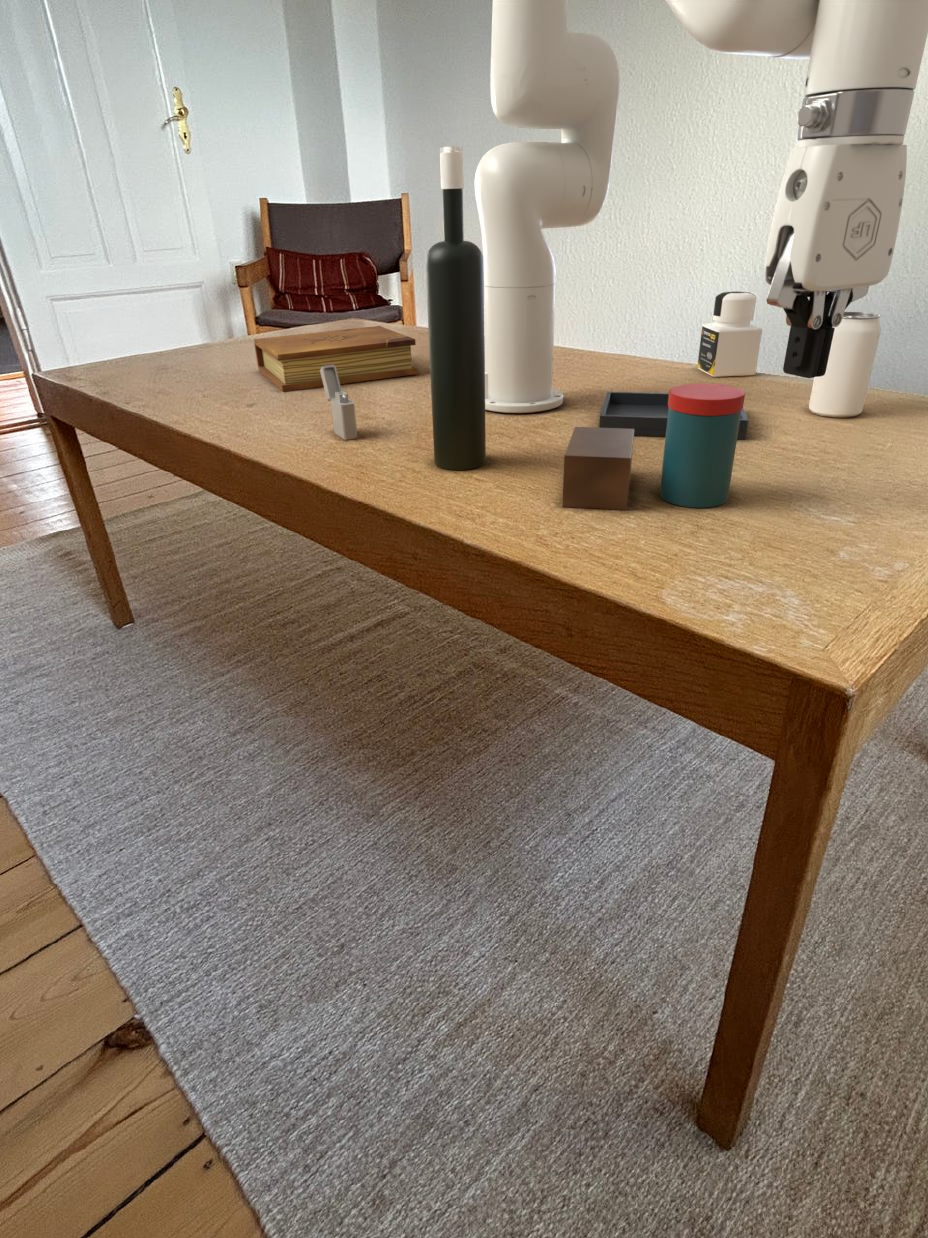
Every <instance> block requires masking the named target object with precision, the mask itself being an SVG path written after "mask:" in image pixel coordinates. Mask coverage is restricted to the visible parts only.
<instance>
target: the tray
mask: <svg viewBox="0 0 928 1238" xmlns="http://www.w3.org/2000/svg"><path fill="white" fill-rule="evenodd" d="M668 398H669V392H639V391H638V392H637V391H606V393H605V396H604V400H603V405H602V407H601V411H600V413H599V424H598V428H625V429H634V437H658V438H659V437H660V438H661V437H662V438H663V437H664V438H665V437H666V427H667V418H668V409H669V407H668ZM748 426H749V418H748V416H747V413H746V410H745V408H744V407H743V409H742V410H741V417H740V423H739V430H738V436H737V440H744V441H745V440H746V439H747V432H748Z"/></svg>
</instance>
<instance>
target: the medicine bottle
mask: <svg viewBox="0 0 928 1238" xmlns="http://www.w3.org/2000/svg"><path fill="white" fill-rule="evenodd" d="M756 303H757V296H756V295H755V294H753V293H751V292H748V291H736V290H735V291H723V292H720V293H718V294H717V295H716V296H715V299H714V307H713V314H712V320H713V321H714V322H707V323H703V324H702V326H701V333H700V341H699V349H698V358H697V364H696V365H697V367H696V368H697V369H698V370H699V371H701V372H703V373H705V374H706V375H708V376H710V377H712V378H719V377H721V378H722V377H745V376H755V375H756V372H757V367H758V360H759V354H760V349H761V348H760V347H761V342H762V335H763V328H762V327H760V326H757V325H753V324H751V323H752V322H753V321H754V316H755V310H756V309H755V308H756Z"/></svg>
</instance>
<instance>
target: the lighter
mask: <svg viewBox="0 0 928 1238" xmlns="http://www.w3.org/2000/svg"><path fill="white" fill-rule="evenodd" d="M320 373H321V377H322V381H323V385H324V386H323V388H324V393H325V397H326V401H328V402H330V406H331V407H330V408H331V415H332V423H333V433H334V434H335V435H337V436H338V437H340V438H341V439H343V440H344V441H349V440H355V439H358V437H359V436H358V428H357V418H356V407H355V402H353V401H351V400H350V399H349V393H347V392H345V391H344V390H342V386H341V384H340V382H339V378H338V374H337V370H336V366H335V365H326V366H323V367H322V368H321V370H320Z"/></svg>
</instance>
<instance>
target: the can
mask: <svg viewBox="0 0 928 1238" xmlns="http://www.w3.org/2000/svg"><path fill="white" fill-rule="evenodd" d="M880 318H881V315H880V314H878V313H874V312H868V311H867V312H866V311H844V315H843V318H842V321H841V323H840V324H839V325H838V326H837V327H832V328H835V330H834V334H833V339H832V344H831V349H830V354H829V358H828V363H827V368H826V372H825V375H823V376H820V377H814V378H813V382H812V387H811V391H810V397H809V403H808V410H809V411H810V413H811V414H814V415H816V416H820V417H826V418H834V419H849V418H855V417H857V416H859V415H860V414H861V413H862V412H863V411H864V406H865V401H866V397H867V394H868V389H869V385H870V381H871V376H872V371H873V367H874V363H875V359H876V355H877V350H878V345H879V340H880V337H881V332H882V331H881V330H882V326H881V323H880Z"/></svg>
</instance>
